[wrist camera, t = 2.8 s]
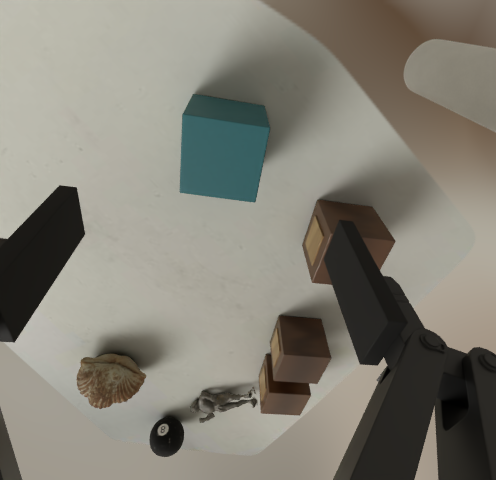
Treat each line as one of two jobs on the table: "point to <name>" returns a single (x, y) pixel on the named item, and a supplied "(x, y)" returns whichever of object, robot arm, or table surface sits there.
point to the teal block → (223, 148)
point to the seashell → (109, 379)
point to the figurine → (219, 403)
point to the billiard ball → (166, 437)
